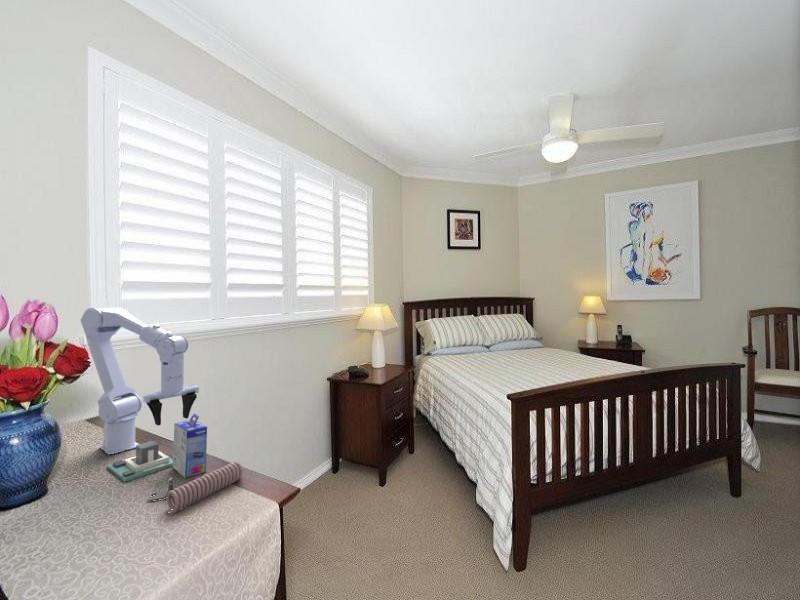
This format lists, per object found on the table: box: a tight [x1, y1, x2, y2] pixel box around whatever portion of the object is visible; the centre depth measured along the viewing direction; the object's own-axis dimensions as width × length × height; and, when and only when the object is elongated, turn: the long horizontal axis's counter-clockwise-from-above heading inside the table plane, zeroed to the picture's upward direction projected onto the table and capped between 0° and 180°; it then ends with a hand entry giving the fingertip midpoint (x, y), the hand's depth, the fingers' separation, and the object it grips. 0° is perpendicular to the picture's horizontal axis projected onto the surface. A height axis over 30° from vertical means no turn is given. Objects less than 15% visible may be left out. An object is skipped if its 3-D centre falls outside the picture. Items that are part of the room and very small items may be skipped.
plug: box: [135, 440, 159, 465], centre depth 99 cm, size 5×4×5 cm
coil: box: [166, 460, 243, 514], centre depth 86 cm, size 5×5×18 cm
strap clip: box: [147, 476, 175, 502], centre depth 84 cm, size 8×3×4 cm, turn 111°
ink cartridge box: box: [172, 413, 208, 478], centre depth 98 cm, size 10×6×14 cm, turn 49°
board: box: [106, 450, 173, 483], centre depth 99 cm, size 13×12×2 cm
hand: (172, 421), depth 108 cm, fingers open, 7 cm apart
